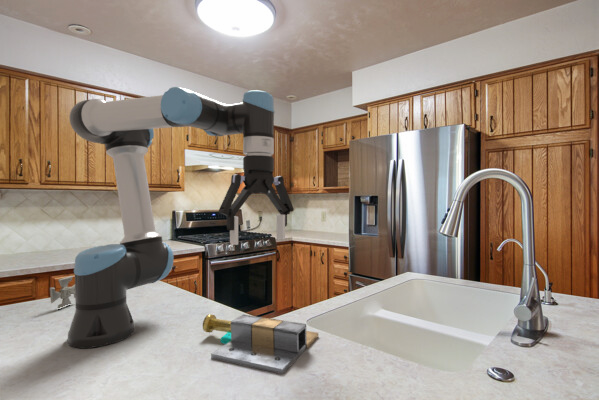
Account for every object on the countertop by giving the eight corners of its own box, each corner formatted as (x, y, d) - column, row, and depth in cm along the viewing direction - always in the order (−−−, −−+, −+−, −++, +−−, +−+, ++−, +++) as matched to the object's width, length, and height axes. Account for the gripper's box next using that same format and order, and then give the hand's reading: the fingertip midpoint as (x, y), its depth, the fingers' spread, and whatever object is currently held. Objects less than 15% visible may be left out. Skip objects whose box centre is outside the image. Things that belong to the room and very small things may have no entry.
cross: (54, 312, 109) (53, 281, 109) (47, 312, 110) (47, 281, 110) (81, 303, 119) (81, 274, 119) (75, 302, 120) (75, 274, 120)
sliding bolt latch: (211, 358, 76) (210, 332, 76) (258, 326, 94) (257, 305, 94) (282, 374, 69) (282, 345, 69) (318, 336, 87) (318, 314, 87)
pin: (202, 334, 87) (202, 317, 87) (213, 328, 91) (213, 312, 91) (271, 347, 79) (270, 328, 79) (279, 340, 83) (279, 322, 83)
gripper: (218, 150, 73) (219, 248, 73) (306, 158, 89) (306, 239, 89) (204, 153, 79) (204, 244, 79) (289, 160, 95) (289, 236, 95)
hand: (258, 241), depth 84 cm, fingers open, 13 cm apart
